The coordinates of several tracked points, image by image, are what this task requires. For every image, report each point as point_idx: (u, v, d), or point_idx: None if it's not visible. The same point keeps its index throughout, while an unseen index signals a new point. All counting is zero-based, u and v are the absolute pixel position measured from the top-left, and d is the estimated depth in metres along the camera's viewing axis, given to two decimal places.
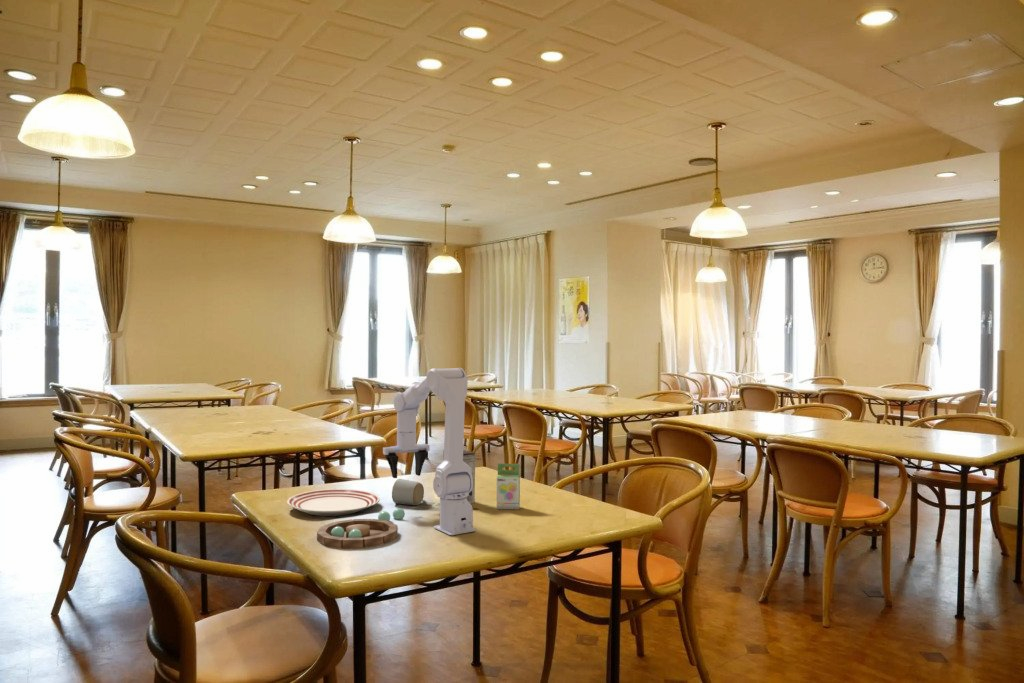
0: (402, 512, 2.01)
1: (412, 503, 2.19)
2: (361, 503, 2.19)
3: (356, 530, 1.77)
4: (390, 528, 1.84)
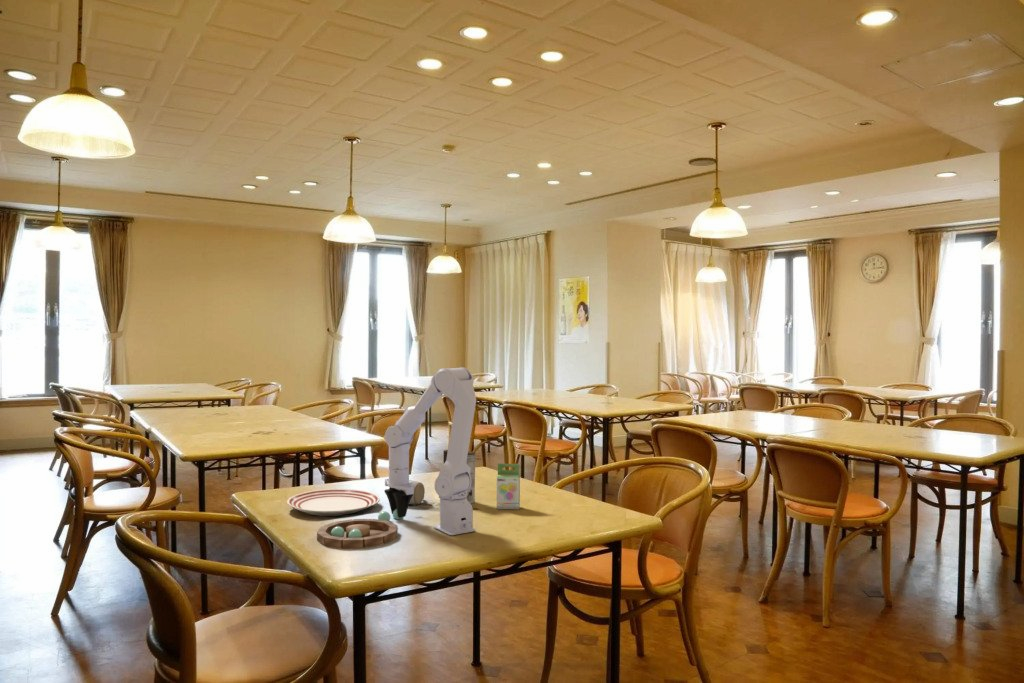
0: None
1: (413, 503, 2.19)
2: (361, 503, 2.19)
3: (356, 530, 1.77)
4: (390, 528, 1.84)
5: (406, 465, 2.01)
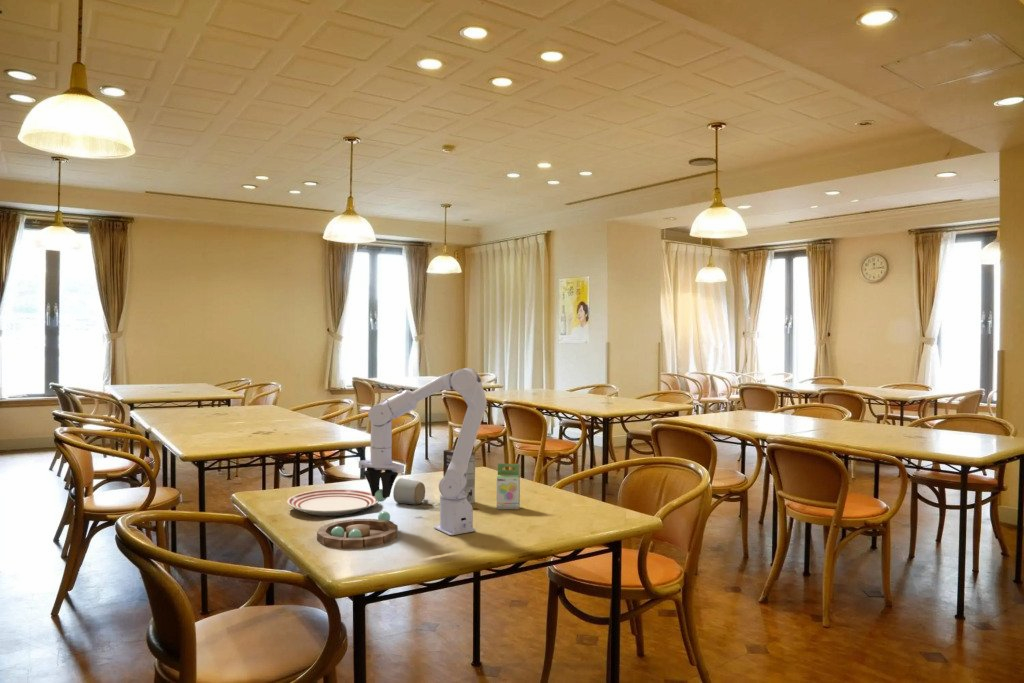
0: None
1: (413, 502, 2.19)
2: (361, 503, 2.19)
3: (356, 530, 1.77)
4: (390, 528, 1.84)
5: (391, 444, 1.94)
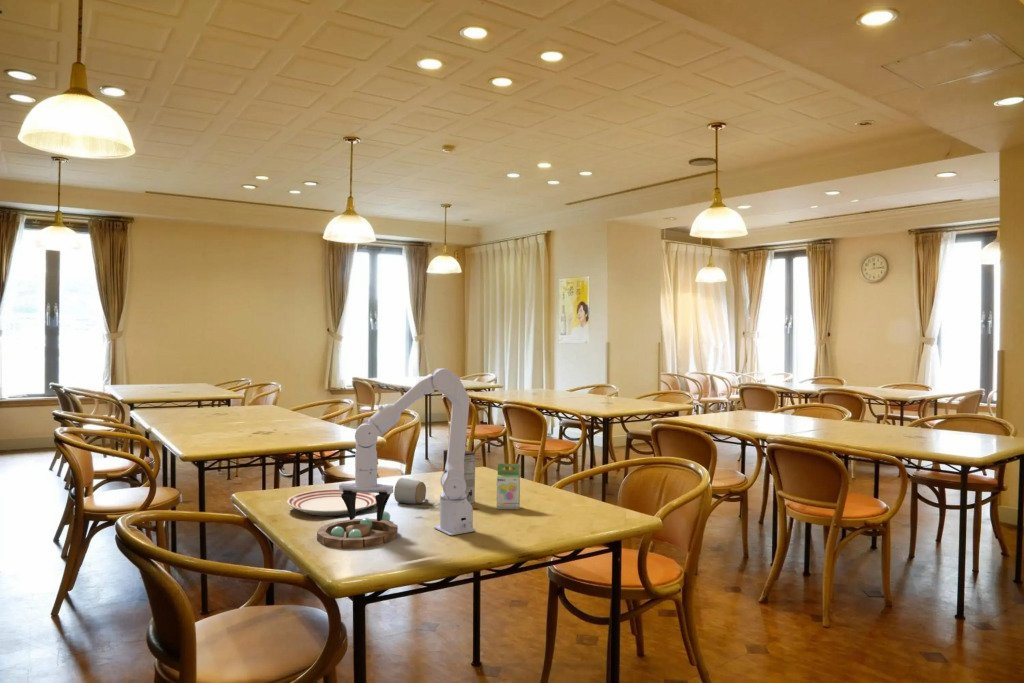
0: (371, 521, 1.89)
1: (414, 502, 2.20)
2: (361, 503, 2.19)
3: (356, 530, 1.77)
4: (390, 528, 1.84)
5: (376, 465, 1.89)
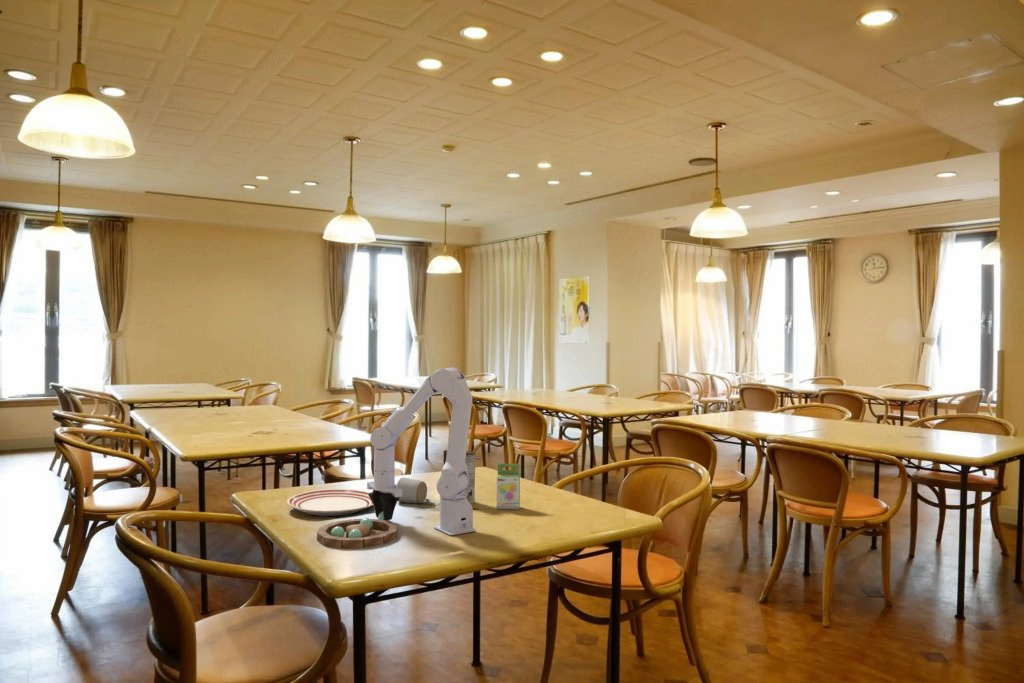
0: (371, 521, 1.89)
1: (415, 501, 2.21)
2: (361, 503, 2.19)
3: (356, 530, 1.77)
4: (390, 528, 1.84)
5: (393, 467, 1.97)
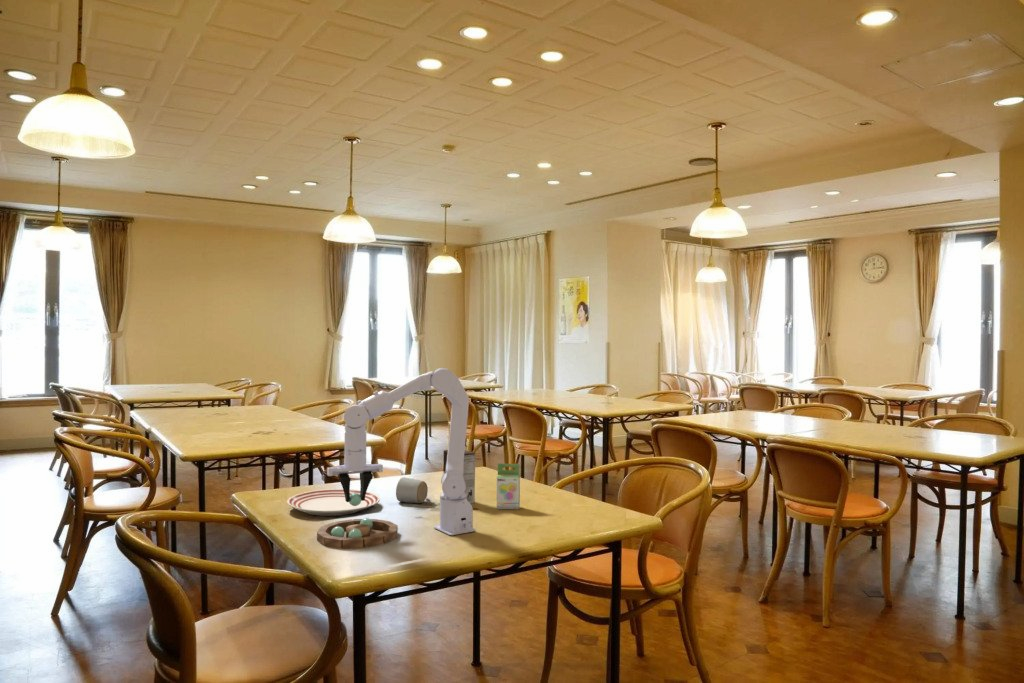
0: None
1: (416, 501, 2.21)
2: (361, 503, 2.19)
3: (356, 530, 1.77)
4: (390, 528, 1.84)
5: None
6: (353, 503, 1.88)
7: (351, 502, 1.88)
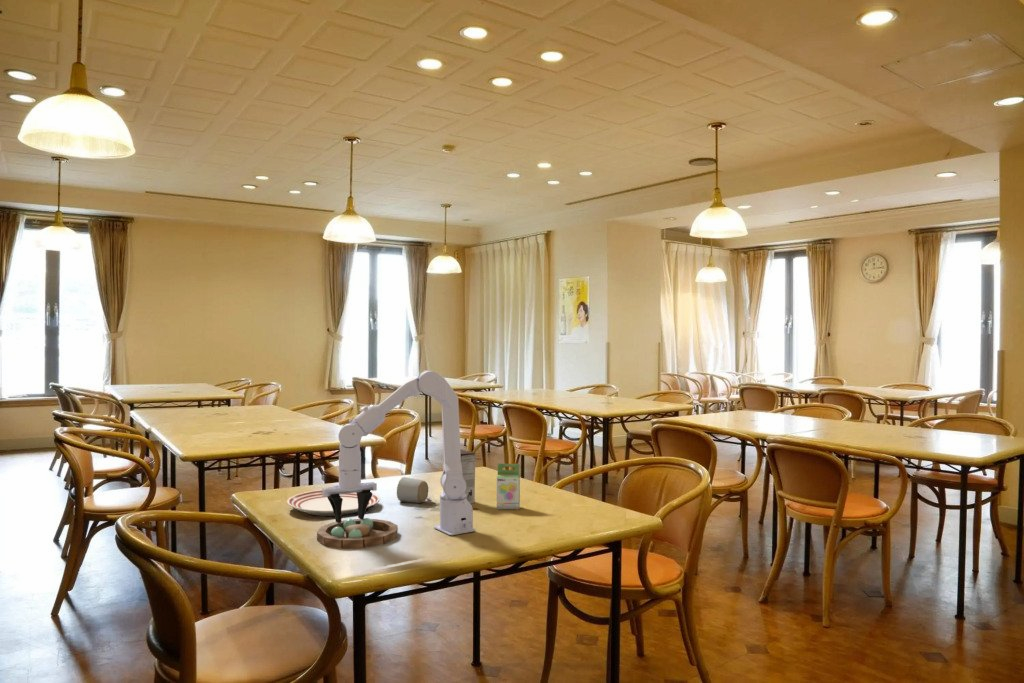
0: (372, 522, 1.89)
1: (417, 501, 2.21)
2: None
3: (356, 530, 1.77)
4: (390, 528, 1.84)
5: (360, 465, 1.88)
6: None
7: None
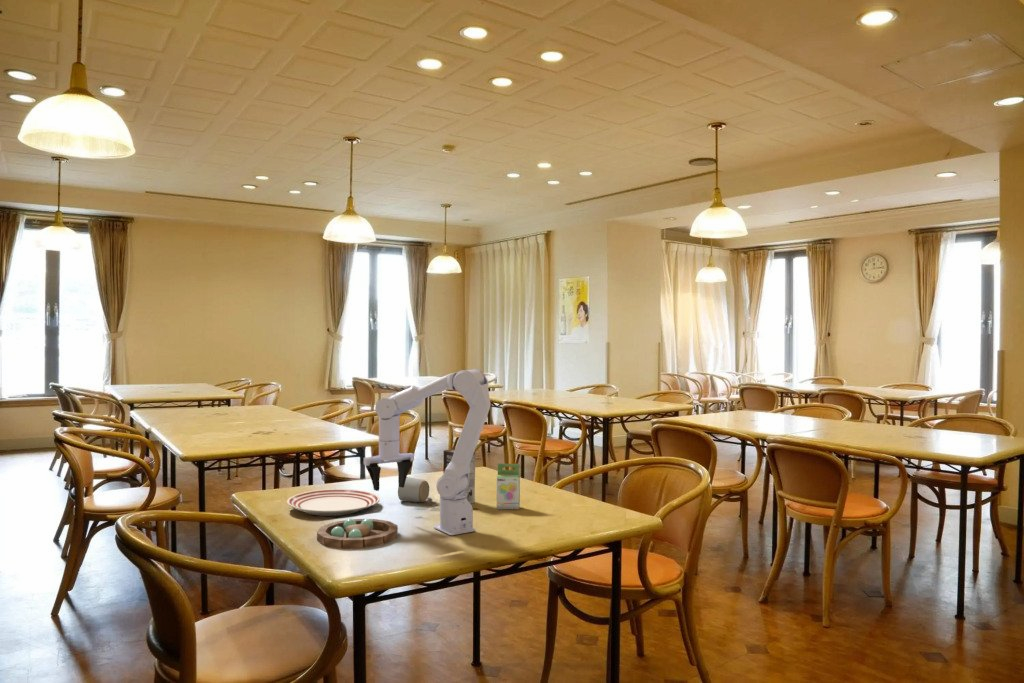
0: (372, 523, 1.88)
1: (418, 500, 2.22)
2: (361, 503, 2.19)
3: (356, 530, 1.77)
4: (390, 528, 1.84)
5: (398, 437, 1.97)
6: None
7: None
